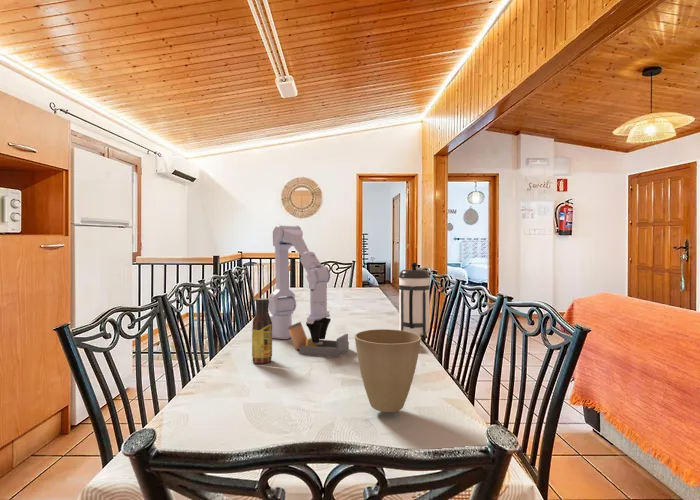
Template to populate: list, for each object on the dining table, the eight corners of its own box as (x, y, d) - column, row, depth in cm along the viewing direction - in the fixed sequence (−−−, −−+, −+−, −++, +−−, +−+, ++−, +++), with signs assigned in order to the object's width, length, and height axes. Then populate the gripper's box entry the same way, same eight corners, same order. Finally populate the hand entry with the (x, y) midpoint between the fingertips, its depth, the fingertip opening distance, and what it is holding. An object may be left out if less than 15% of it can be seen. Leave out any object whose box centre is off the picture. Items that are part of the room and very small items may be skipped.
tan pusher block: (305, 350, 132) (305, 340, 132) (315, 344, 140) (315, 334, 140) (317, 351, 131) (317, 341, 131) (326, 345, 139) (326, 335, 139)
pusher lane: (299, 354, 132) (299, 336, 132) (312, 346, 142) (312, 330, 142) (337, 357, 127) (337, 340, 127) (348, 349, 137) (348, 333, 137)
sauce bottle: (267, 365, 119) (266, 300, 119) (248, 364, 121) (248, 300, 121) (275, 359, 126) (275, 297, 126) (257, 358, 127) (257, 297, 127)
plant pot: (382, 426, 78) (381, 347, 78) (342, 402, 90) (342, 333, 90) (435, 409, 86) (435, 337, 86) (392, 389, 98) (392, 326, 98)
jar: (293, 351, 136) (284, 328, 137) (299, 347, 140) (291, 325, 141) (305, 346, 134) (296, 323, 135) (311, 343, 139) (302, 320, 140)
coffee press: (386, 334, 161) (386, 262, 161) (418, 331, 167) (418, 261, 167) (410, 344, 145) (410, 263, 145) (444, 339, 152) (444, 263, 152)
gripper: (320, 305, 127) (320, 346, 127) (336, 299, 141) (337, 337, 141) (301, 304, 129) (301, 344, 129) (319, 298, 143) (319, 335, 143)
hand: (318, 340), depth 135 cm, fingers open, 5 cm apart
